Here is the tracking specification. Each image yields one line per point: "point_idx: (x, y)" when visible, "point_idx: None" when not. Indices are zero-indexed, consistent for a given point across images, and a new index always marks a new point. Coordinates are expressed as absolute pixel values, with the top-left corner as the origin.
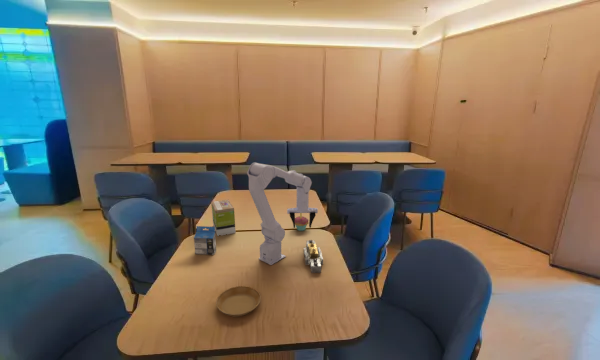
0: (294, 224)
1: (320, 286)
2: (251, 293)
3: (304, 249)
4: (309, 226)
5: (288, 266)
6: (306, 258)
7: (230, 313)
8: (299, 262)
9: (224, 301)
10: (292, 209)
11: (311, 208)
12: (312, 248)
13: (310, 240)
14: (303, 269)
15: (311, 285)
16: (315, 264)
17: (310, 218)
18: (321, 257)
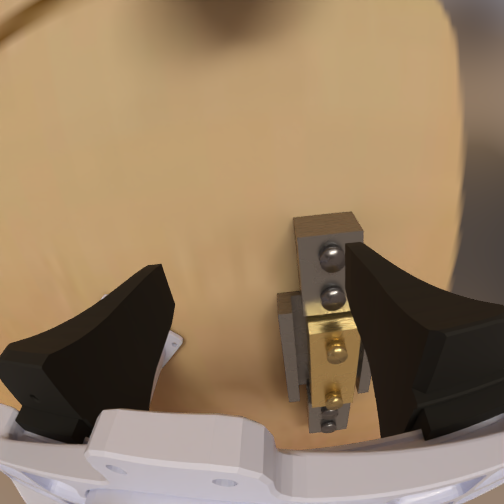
0: (159, 343)
1: (327, 441)
2: None
3: (282, 333)
4: (347, 287)
5: (215, 389)
6: (292, 395)
7: None
8: (259, 368)
9: None
10: (53, 494)
11: (480, 471)
12: (330, 374)
13: (331, 257)
14: (278, 400)
15: (302, 442)
16: (325, 431)
17: (378, 410)
18: (364, 382)
